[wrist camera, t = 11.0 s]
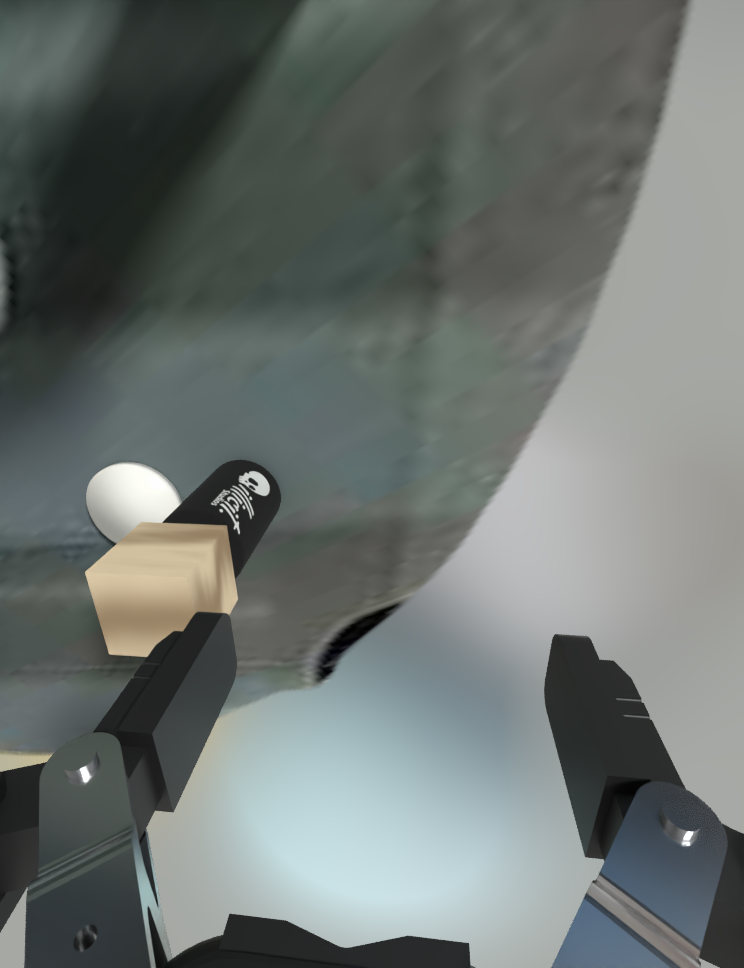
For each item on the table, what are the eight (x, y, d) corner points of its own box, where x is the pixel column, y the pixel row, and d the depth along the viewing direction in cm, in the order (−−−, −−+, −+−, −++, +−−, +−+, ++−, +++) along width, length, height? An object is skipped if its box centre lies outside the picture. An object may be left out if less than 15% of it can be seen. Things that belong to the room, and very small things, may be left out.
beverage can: (297, 490, 45) (255, 564, 34) (254, 534, 47) (202, 615, 36) (240, 442, 43) (177, 501, 32) (199, 489, 46) (127, 560, 35)
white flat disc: (82, 460, 46) (75, 464, 45) (175, 462, 45) (170, 467, 44) (104, 544, 49) (98, 549, 48) (191, 548, 48) (186, 553, 48)
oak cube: (141, 522, 33) (85, 572, 28) (226, 525, 33) (186, 577, 27) (157, 595, 36) (109, 654, 30) (237, 599, 35) (202, 660, 30)
